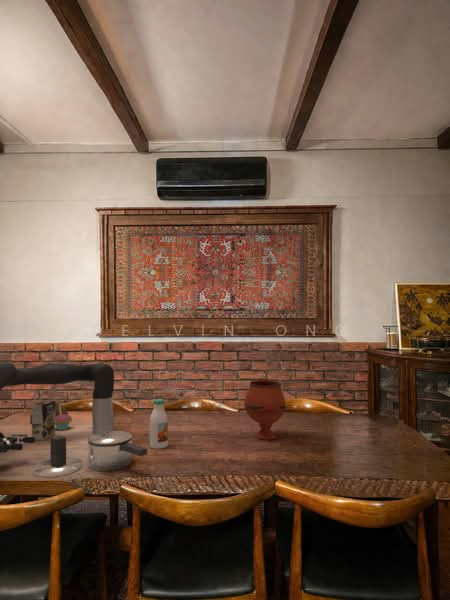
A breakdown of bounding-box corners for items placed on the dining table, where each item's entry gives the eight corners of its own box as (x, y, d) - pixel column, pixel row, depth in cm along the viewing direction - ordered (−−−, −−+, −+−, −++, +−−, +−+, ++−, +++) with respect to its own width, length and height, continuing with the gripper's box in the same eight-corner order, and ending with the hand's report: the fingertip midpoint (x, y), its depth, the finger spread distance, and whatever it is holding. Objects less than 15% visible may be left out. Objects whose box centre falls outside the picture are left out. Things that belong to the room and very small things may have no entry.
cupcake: (49, 430, 206) (49, 406, 206) (60, 426, 214) (60, 402, 215) (65, 431, 204) (65, 407, 204) (75, 427, 212) (75, 403, 213)
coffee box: (43, 440, 190) (44, 404, 191) (31, 439, 191) (31, 404, 192) (55, 434, 199) (56, 400, 200) (43, 434, 200) (43, 400, 201)
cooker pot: (114, 453, 172) (114, 428, 173) (161, 468, 155) (161, 440, 155) (78, 464, 159) (79, 438, 160) (125, 482, 142) (125, 452, 143)
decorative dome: (27, 427, 214) (27, 407, 214) (32, 417, 233) (32, 399, 233) (67, 423, 220) (67, 404, 220) (69, 415, 239) (69, 397, 239)
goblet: (256, 429, 206) (255, 377, 207) (292, 434, 196) (292, 380, 197) (237, 439, 190) (236, 383, 190) (276, 446, 180) (275, 387, 180)
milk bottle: (150, 450, 176) (150, 402, 176) (149, 444, 183) (148, 398, 184) (169, 448, 178) (168, 400, 178) (166, 443, 185) (166, 397, 186)
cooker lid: (66, 457, 168) (66, 428, 168) (91, 467, 157) (91, 436, 158) (24, 470, 154) (24, 439, 155) (48, 481, 144) (48, 448, 144)
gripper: (-26, 437, 151) (18, 438, 150) (-1, 427, 165) (38, 428, 164) (-26, 458, 151) (17, 460, 150) (-2, 446, 165) (38, 447, 164)
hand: (28, 443), depth 157 cm, fingers open, 8 cm apart
